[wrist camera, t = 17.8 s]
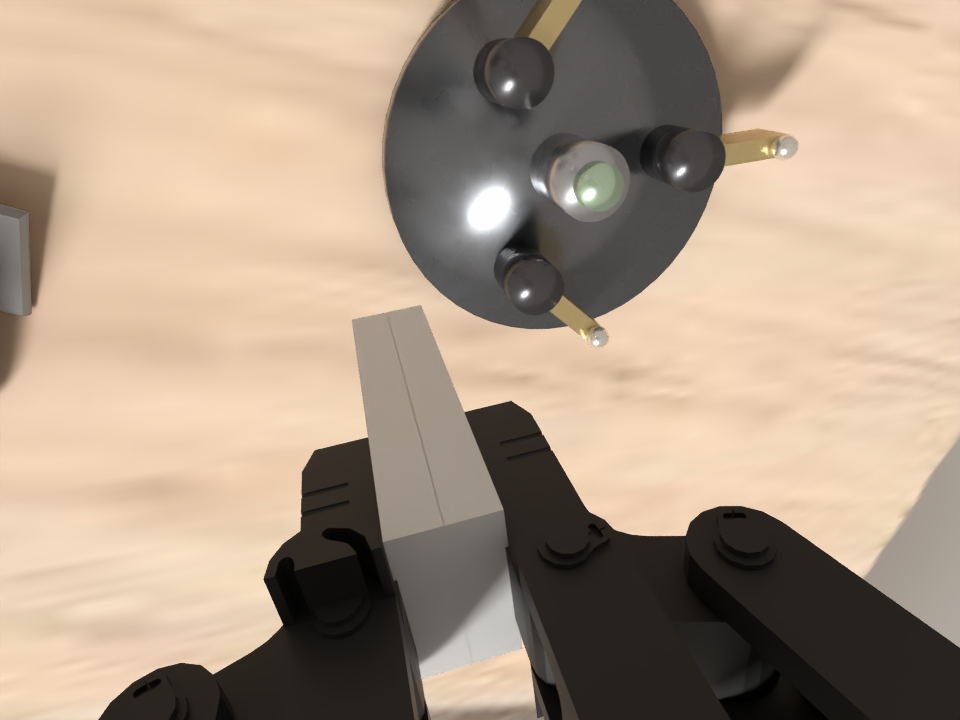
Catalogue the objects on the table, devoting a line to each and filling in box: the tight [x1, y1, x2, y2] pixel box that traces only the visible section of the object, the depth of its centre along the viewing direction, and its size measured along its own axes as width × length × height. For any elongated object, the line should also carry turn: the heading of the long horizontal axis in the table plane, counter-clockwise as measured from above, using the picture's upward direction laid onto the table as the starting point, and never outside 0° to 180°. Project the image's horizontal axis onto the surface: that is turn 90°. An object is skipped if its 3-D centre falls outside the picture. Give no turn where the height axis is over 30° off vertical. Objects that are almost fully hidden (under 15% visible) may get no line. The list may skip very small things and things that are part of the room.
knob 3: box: [640, 124, 798, 192], centre depth 35 cm, size 8×3×4 cm, turn 96°
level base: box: [382, 0, 722, 329], centre depth 34 cm, size 21×21×8 cm
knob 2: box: [494, 243, 609, 349], centre depth 37 cm, size 8×3×4 cm, turn 49°
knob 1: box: [473, 0, 582, 110], centre depth 30 cm, size 8×3×4 cm, turn 144°
